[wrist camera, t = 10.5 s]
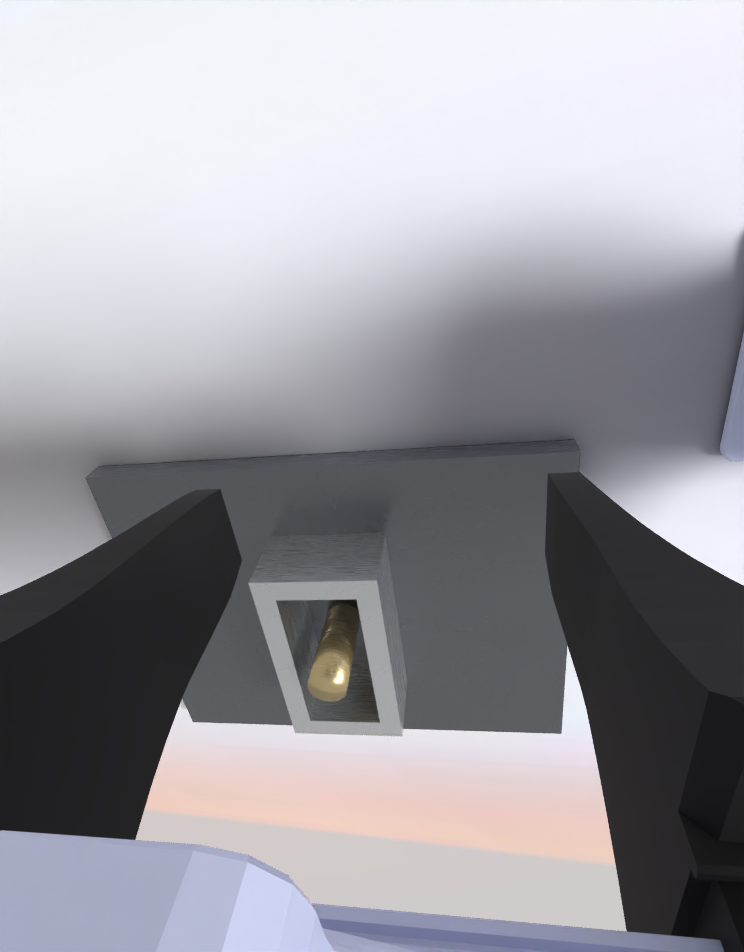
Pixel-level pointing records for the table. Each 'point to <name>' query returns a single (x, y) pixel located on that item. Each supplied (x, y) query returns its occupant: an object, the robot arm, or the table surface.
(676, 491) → the table surface
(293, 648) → the link
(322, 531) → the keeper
